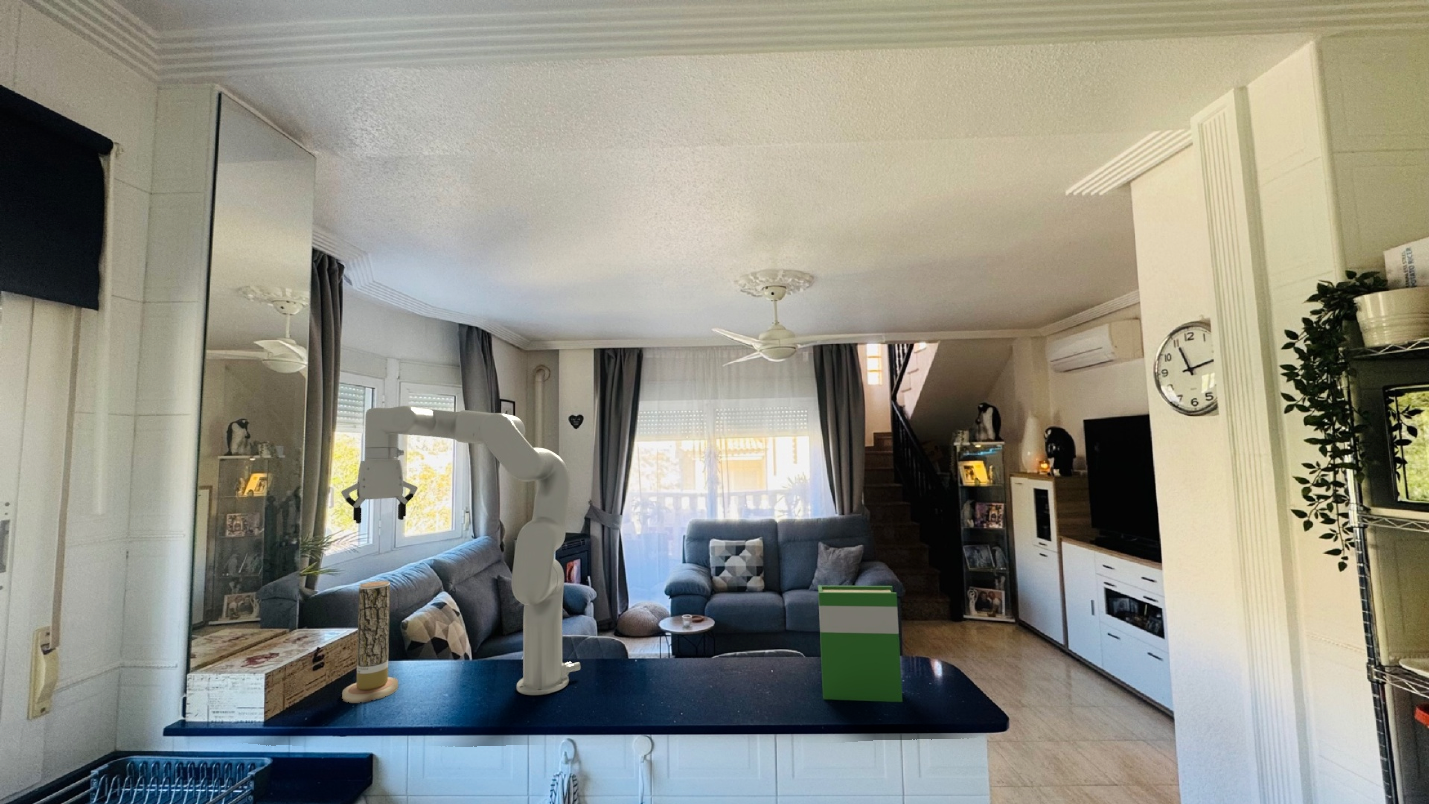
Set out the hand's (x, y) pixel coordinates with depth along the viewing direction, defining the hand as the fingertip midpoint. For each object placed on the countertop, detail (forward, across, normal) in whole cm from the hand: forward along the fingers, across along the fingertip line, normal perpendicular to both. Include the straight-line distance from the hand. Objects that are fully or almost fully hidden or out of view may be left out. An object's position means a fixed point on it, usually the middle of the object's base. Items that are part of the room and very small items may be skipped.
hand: (380, 521), depth 150 cm
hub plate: (+42, +1, 0) cm, 42 cm away
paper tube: (+41, +1, +1) cm, 41 cm away
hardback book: (+43, -85, +85) cm, 128 cm away
